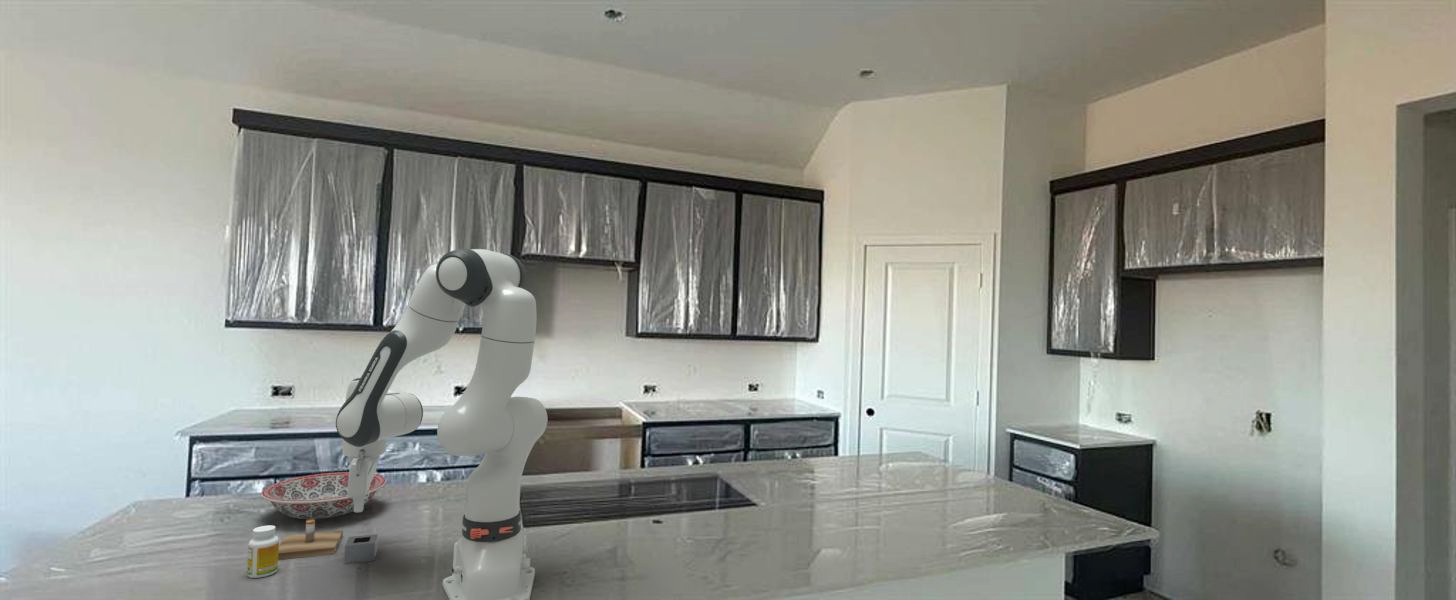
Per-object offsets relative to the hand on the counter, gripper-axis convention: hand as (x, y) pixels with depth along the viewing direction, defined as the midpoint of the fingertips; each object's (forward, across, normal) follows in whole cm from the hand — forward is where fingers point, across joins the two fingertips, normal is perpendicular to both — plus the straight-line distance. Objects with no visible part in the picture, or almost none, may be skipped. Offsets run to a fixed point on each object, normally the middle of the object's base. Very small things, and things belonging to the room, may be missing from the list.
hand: (361, 504), depth 148 cm
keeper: (+12, +9, +11) cm, 19 cm away
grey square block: (+12, -1, -1) cm, 12 cm away
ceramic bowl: (+13, +35, +12) cm, 40 cm away
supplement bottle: (+12, -4, +18) cm, 22 cm away
